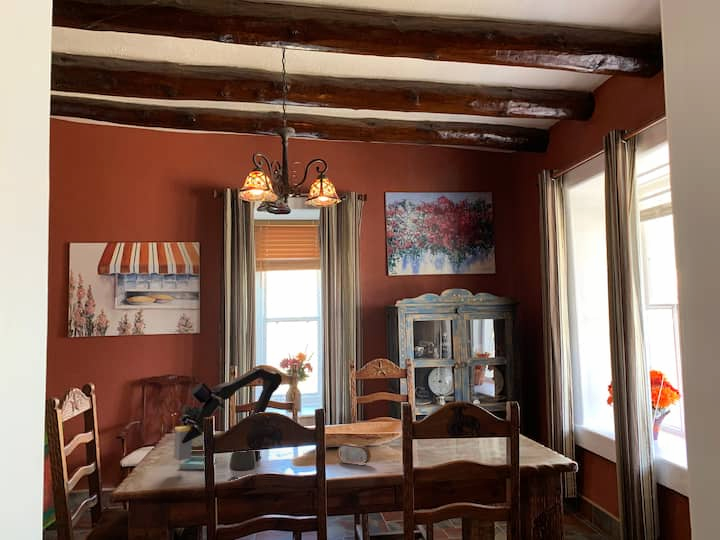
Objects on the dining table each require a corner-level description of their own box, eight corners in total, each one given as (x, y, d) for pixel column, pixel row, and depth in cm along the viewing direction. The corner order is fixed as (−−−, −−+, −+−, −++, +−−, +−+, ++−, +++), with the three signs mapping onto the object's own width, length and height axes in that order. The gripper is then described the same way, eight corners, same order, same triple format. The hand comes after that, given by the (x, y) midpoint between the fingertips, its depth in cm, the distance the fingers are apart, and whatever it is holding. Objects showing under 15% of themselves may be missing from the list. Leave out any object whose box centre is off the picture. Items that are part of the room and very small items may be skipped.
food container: (213, 448, 245) (214, 427, 246) (208, 452, 239) (209, 429, 240) (188, 447, 246) (189, 426, 247) (182, 451, 240) (183, 429, 241)
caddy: (186, 455, 210) (187, 425, 212) (191, 458, 207) (192, 427, 208) (173, 457, 207) (174, 427, 208) (178, 460, 203) (180, 429, 204)
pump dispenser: (223, 477, 202) (224, 437, 203) (245, 471, 209) (246, 433, 211) (238, 482, 195) (240, 441, 196) (261, 476, 202) (262, 437, 204)
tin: (370, 465, 220) (371, 445, 220) (367, 467, 217) (368, 446, 218) (339, 461, 226) (339, 441, 227) (336, 462, 223) (336, 442, 224)
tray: (216, 462, 222) (216, 457, 222) (205, 470, 210) (205, 464, 211) (191, 461, 223) (191, 456, 223) (179, 468, 212) (179, 463, 212)
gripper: (184, 395, 219) (157, 425, 210) (204, 400, 205) (175, 433, 196) (202, 411, 223) (175, 442, 215) (221, 418, 209) (194, 450, 201)
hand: (179, 441), depth 207 cm, fingers closed on caddy, 5 cm apart
